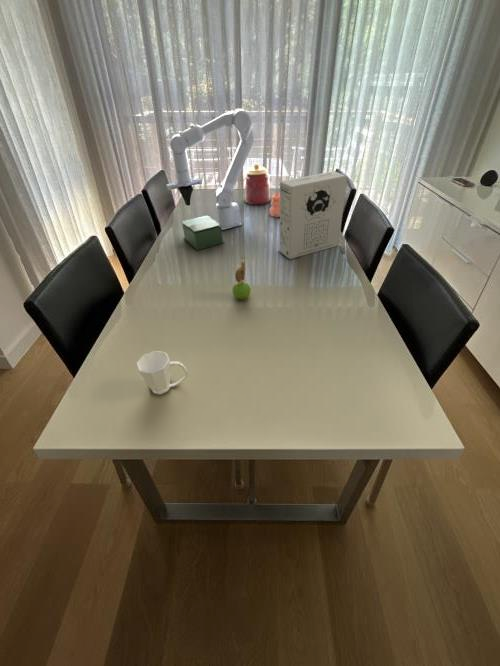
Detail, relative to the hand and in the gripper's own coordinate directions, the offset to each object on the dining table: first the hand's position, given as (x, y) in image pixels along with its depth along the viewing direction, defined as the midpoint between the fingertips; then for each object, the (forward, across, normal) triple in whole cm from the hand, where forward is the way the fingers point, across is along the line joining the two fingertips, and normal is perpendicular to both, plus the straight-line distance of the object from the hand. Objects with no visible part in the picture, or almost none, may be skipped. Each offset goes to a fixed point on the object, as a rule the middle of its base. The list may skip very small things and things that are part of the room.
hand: (187, 204), depth 142 cm
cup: (+11, -40, -84) cm, 94 cm away
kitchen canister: (+10, +42, +14) cm, 46 cm away
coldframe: (+10, -1, -15) cm, 18 cm away
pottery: (+10, +44, -11) cm, 47 cm away
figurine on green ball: (+10, -8, -61) cm, 62 cm away
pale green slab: (+3, -1, -12) cm, 12 cm away
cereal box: (+10, +29, -46) cm, 56 cm away
